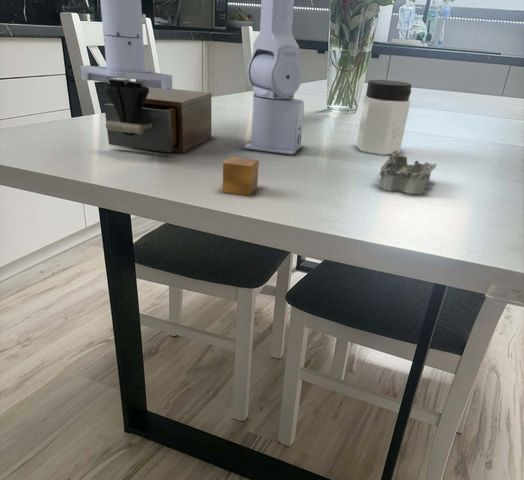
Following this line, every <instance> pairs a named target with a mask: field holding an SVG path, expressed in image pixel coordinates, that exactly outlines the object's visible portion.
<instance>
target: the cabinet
mask: <svg viewBox="0 0 524 480" xmlns="http://www.w3.org/2000/svg"><path fill="white" fill-rule="evenodd" d="M147 88H149V93H148V95H147V97H146V100H145V102H144V103H145V104H154V105H163V106H172V107H177V111H178V138H179V144H177V145H175V146H173V147H172V151H171V152H170V153H178V154H184V153H186V152H188V151H190V150H191V149H194V148H195V147H197V146H199V145H201V144H203V143H205V142H206V141H208V140H210V139H212V92H206V91H205V92H204V91H197V90H188V89H187V90H186V89H177V88H172V89H170V90H162V89H159V88H151V87H147Z"/></svg>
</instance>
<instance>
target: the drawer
mask: <svg viewBox="0 0 524 480" xmlns="http://www.w3.org/2000/svg"><path fill="white" fill-rule="evenodd" d="M103 107H104V115H105V116H104V117H105V128H106V132H107V140H108V145H109V146H117V147H125V148H131V149H132V148H133V149H140V150H147V151H148V150H149V151H156V152H161V153H162V152H163V153H172V152H171V151H172V147H173V146H175V145H177V144H179V138H178V111H177V107H172V106H163V105H154V104H145V103H144V105H143V108H142V111H141V114H140V119H139V124H132V123H124V122H120V119H119V116H118V114H117V111H116V109H115V107H114V105H113V103H104V105H103ZM124 132H128V133H136V135H133V136H128V135H124Z"/></svg>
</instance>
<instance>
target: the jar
mask: <svg viewBox="0 0 524 480" xmlns="http://www.w3.org/2000/svg"><path fill="white" fill-rule="evenodd" d="M412 87H413V86H412V84H411V83H409V82H405V81H397V80H388V79H370V80H368V81H367V86H366V93H365V95H364V96H363V102H362V107H361V113H360V119H359V120H360V121H359V125H358V132H357V139H356V143H355V144H356V147H357V148H358V149H359V150H360V151H361V152H362V153H369V154H375V155H380V156H385V155H391V153H393V151H396V150H397V154H400V152H401V147H402V143H403V137H404V133H405V129H406V125H407V120H408V115H409V109H410V107H411V106H410V105H411V100H410V97H411V93H412Z"/></svg>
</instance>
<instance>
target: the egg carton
mask: <svg viewBox="0 0 524 480" xmlns="http://www.w3.org/2000/svg"><path fill="white" fill-rule="evenodd" d="M436 166H437V163H430V162H427V161H425V162H424V163H420V161H419V160H415V161H414V164H408V157H407V156H405V155H401V154H399V153H397V150H396V151H393V153H391V154H389V157H388V159H387V160H385V162H384V164H383V165H382V166H381V168H380V171H379V174H378V175H380V180H379V183H378V188H379V189H382V190H385V191H388V192H393V191H396V192H397V191H398V192H403V193H406V194H409V195H423V192H424V190H426V187H427V185H428V184H429V181H430V178H431V174H432V171H434V170H435V168H436Z"/></svg>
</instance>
